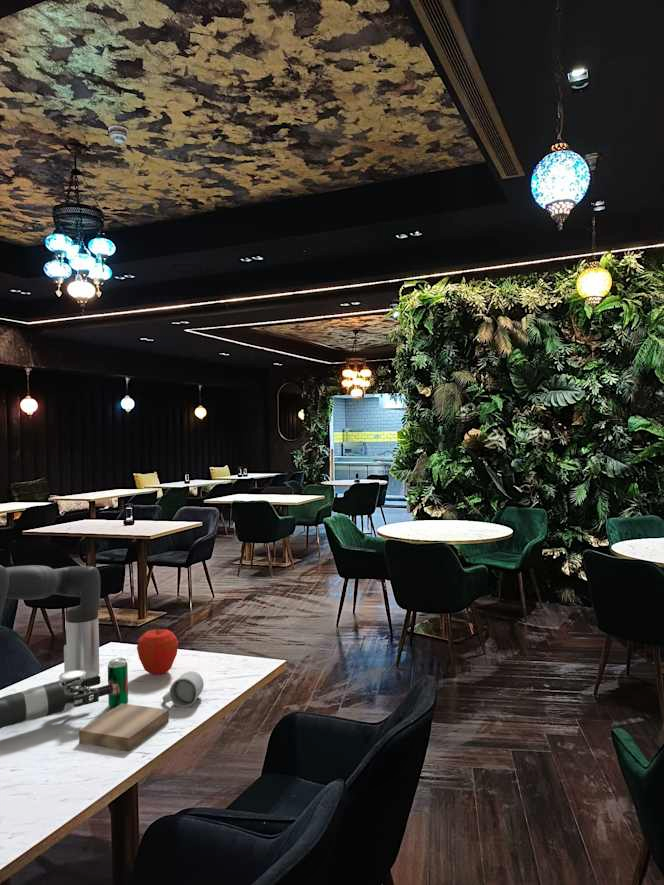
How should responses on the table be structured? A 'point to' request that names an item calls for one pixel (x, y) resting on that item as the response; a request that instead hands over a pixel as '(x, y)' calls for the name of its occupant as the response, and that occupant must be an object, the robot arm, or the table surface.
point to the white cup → (72, 675)
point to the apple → (157, 651)
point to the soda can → (118, 682)
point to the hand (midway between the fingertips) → (105, 683)
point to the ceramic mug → (185, 690)
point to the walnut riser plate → (124, 727)
